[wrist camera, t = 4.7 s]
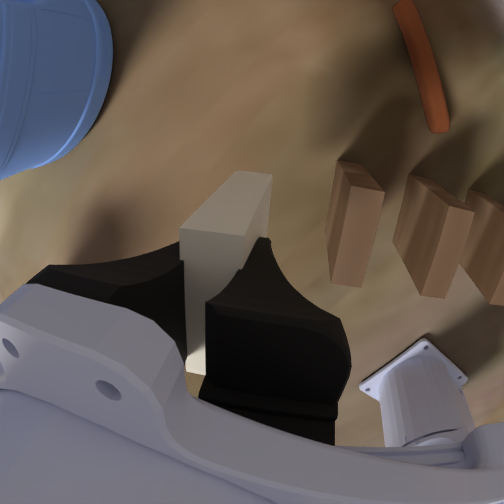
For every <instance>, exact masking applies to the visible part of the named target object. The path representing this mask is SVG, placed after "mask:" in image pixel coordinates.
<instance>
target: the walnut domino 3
mask: <svg viewBox="0 0 504 504" xmlns="http://www.w3.org/2000/svg"><path fill="white" fill-rule="evenodd" d="M465 205H466V206H467V207H469V208H470V209H471V210H473V211H474V212H475V214H474V217H473V221H472V224H471V227H470V231H469V234H468V237H467V240H466V243H465V246H464V249H463V252H462V255H461V258H460V261H459V264H460V265H461V266H462V267H463V269H464V270H465V271H466V273H467V274H468V275H469V277H470V278H471V279H472V281H473V282H474V283H475V285H476V286H477V287H478V289H479V290H480V292H481V293H482V294H483V296H484V297H485V299H486V300H487V302H488V303H489V304H492V305H501V306H504V206H503V205H501V204H500V203H499V202H497V201H495V200H494V199H492V198H491V197H489V196H488V195H486V194H484V193H481V192H478V191H474V190H471V189H468V193H467V197H466V201H465Z"/></svg>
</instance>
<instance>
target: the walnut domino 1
mask: <svg viewBox="0 0 504 504" xmlns="http://www.w3.org/2000/svg"><path fill="white" fill-rule="evenodd" d="M384 195H385V191H384V190H383V189H382V188H381V187H380V185H379V184H378V183H377V182H376V181H375V180H374V178H373V177H372V176H371V175H370V174H369V173H368V171H367V170H366V169H365V168H364V167H363V166H362V165H361V164H358V163H353V162H347V161H341V160H337V163H336V170H335V176H334V182H333V189H332V195H331V201H330V206H329V212H328V218H327V223H326V229H325V234H326V242H327V251H328V260H329V270H330V280H331V283H332V284H339V285H346V286H353V287H360V288H361V287H362V283H363V280H364V276H365V273H366V269H367V265H368V262H369V258H370V254H371V250H372V246H373V243H374V239H375V234H376V230H377V226H378V222H379V218H380V213H381V209H382V204H383V200H384Z"/></svg>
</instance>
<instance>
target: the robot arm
mask: <svg viewBox="0 0 504 504" xmlns="http://www.w3.org/2000/svg"><path fill="white" fill-rule="evenodd" d="M425 346H426V347H425ZM186 359H187V338H186V316H185V286H184V260H180V242H176V243H174V244H171V245H169V246H166V247H164V248H161V249H159V250H156V251H153V252H150V253H147V254H143V255H140V256H136V257H132V258H127V259H122V260H116V261H111V262H105V263H96V264H83V265H48V266H47V267H45V268H44V269H43V270H42V271H40V272H39V273H38V274H37V275H35V276H34V277H33V278H32V279H30V280H29V281H28V282H27V283H26V284H23V285H22V286H21V287H20V288H19V289H17V290H16V291H15V292H14V293H13V294H11V295H10V296H9V297H8V298H7V299H6V300H5V301H3V302H2V303H1V304H0V504H504V422H500V423H493V424H485V425H481V426H479V427H477V428H475V425H474V422H473V419H472V415H471V412H470V409H469V406H468V404H467V401H466V398H465V395H464V392H463V389H462V387H461V386H462V385H463V384H465V383H466V382H467V380H468V378H467V376H466V375H465V374H464V373H463V372H462V371H461V370H460V369H459V368H458V367H457V366H456V365H454V364H453V363H452V362H451V361H450V360H449V359H448V358H447V357H446V356H445V355H444V354H443V353H441V352H440V351H439V350H438V349H437V348H436V347H435V346H434V345H433V344H432V343H430V342H429V341H428V340H427V339H426V338H423V339H420V340H419V341H418V342H416V343H415V344H414V345H413V346H411V347H410V348H409V349H407V350H406V351H405V352H404V353H402V354H401V355H400V356H398V357H397V358H396V359H394V360H393V361H392V362H390V363H389V364H387V365H386V366H385V367H383V368H382V369H381V370H379V371H378V372H376V373H375V374H373V375H372V376H371V377H369V378H368V379H366V380H365V381H363V382H362V383H361V384H360V385H359V388H360V390H362V391H363V392H365V393H366V394H368V395H370V396H371V397H373V398H375V399H376V400H378V401H380V407H381V415H382V423H383V431H384V440H385V447H352V446H335V420H336V419H337V416H338V401H339V399H340V397H341V395H342V392H343V390H344V388H345V385H346V383H347V381H348V378H349V376H350V371H351V367H352V365H351V354H350V348H349V344H348V340H347V337H346V334H345V331H344V328H343V325H342V322H341V320H340V318H338V317H336V316H334V315H332V314H330V313H328V312H326V311H324V310H322V309H320V308H319V307H317V306H316V305H314V304H313V303H311V302H310V301H308V300H307V299H306V298H305V297H303V296H302V295H301V294H300V293H299V292H298V291H297V290H296V289H294V288H293V286H292V285H291V284H290V283H289V282H288V281H287V279H286V278H285V276H284V275H283V273H282V271H281V270H280V268H279V266H278V264H277V262H276V260H275V257H274V255H273V252H272V248H271V241H270V239H269V238H265V237H259V238H258V239H257V240H256V242H255V244H254V246H253V248H252V250H251V252H250V254H249V256H248V258H247V260H246V262H245V264H244V266H243V268H242V269H238V271H237V272H236V274H235V276H234V277H233V278H232V280H231V281H230V282H229V284H228V285H227V286H226V287H225V288H224V289H223V290H222V291H221V292H220V293H219V294H218V295H216V296H215V297H213V298H212V299H210V300H208V301H206V302H205V365H206V375H205V378H204V380H203V383H202V386H201V388H200V391H199V395H198V398H197V397H194V396H192V395H191V394H190V393H189V392H188V390H187V387H186V383H185V373H184V365H185V362H186Z"/></svg>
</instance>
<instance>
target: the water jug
mask: <svg viewBox="0 0 504 504" xmlns="http://www.w3.org/2000/svg"><path fill="white" fill-rule="evenodd" d="M112 63H113V41H112V34H111V29H110V25H109V22H108V19H107V17H106V15H105V13H104V11H103V9H102V8H101V6H100V5H99V4H98V2H97V1H96V0H0V180H2V179H4V178H7V177H9V176H12V175H14V174H16V173H19V172H22V171H24V170H27V169H31V168H36V167H40V166H42V165H45V164H48V163H51V162H53V161H56V160H58V159H60V158H61V157H63V156H64V155H66V154H67V153H69V152H70V151H71V150H72V149H73V148H74V147H75V146H76V145H77V144H78V143H79V142H80V141H81V140H82V139H83V138H84V136H85V135H86V134H87V132H88V131H89V129H90V128H91V126H92V125H93V123H94V121H95V119H96V118H97V116H98V114H99V111H100V109H101V107H102V104H103V102H104V99H105V96H106V93H107V90H108V86H109V82H110V77H111V71H112Z"/></svg>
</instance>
